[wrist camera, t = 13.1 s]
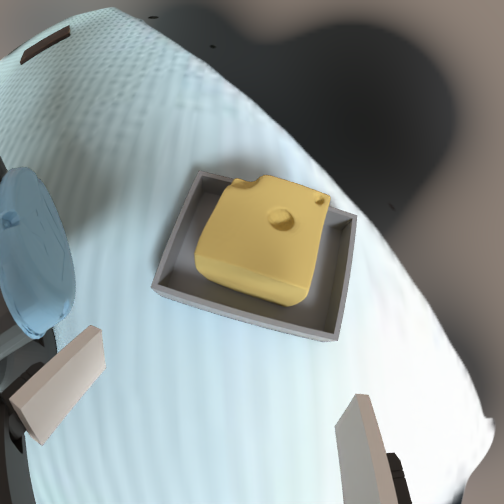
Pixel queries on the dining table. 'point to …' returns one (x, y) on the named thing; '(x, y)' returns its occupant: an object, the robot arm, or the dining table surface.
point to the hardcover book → (45, 44)
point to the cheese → (264, 239)
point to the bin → (245, 306)
